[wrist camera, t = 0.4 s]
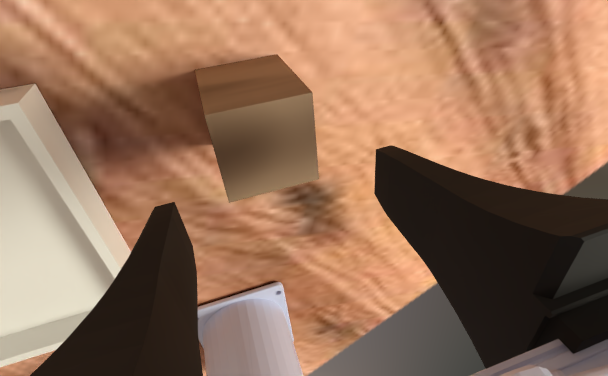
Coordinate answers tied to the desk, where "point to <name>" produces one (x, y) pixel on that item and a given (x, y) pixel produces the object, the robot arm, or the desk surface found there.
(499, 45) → the desk surface
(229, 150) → the walnut block
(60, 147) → the tray
